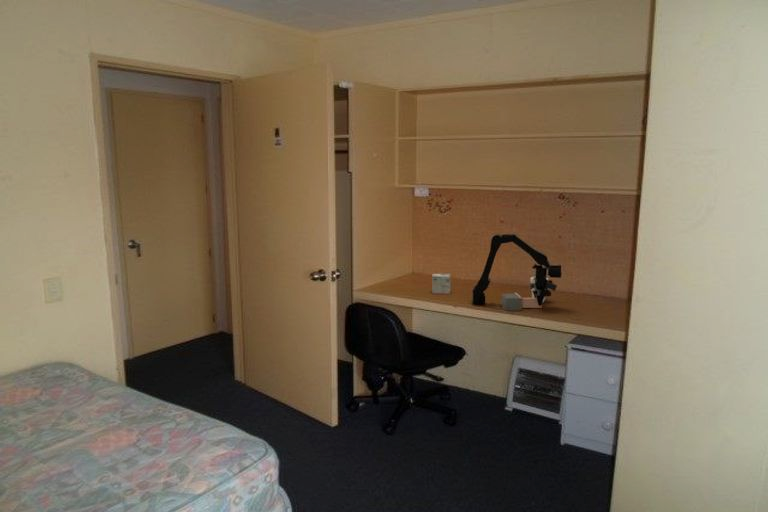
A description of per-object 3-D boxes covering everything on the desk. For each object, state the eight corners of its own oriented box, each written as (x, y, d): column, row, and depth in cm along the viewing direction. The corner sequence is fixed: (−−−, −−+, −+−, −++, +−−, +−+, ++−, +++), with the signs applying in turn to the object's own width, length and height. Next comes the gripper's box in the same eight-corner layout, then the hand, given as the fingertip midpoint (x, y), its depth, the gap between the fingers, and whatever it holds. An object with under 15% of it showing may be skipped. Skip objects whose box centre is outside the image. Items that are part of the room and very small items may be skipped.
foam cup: (528, 302, 305) (529, 279, 303) (530, 298, 314) (531, 276, 312) (546, 303, 302) (547, 280, 300) (547, 299, 311) (548, 277, 308)
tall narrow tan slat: (522, 307, 293) (523, 298, 292) (521, 306, 295) (522, 297, 294) (541, 307, 293) (541, 298, 292) (540, 306, 295) (540, 297, 294)
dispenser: (505, 310, 289) (506, 297, 287) (501, 305, 299) (501, 292, 297) (520, 310, 289) (521, 297, 288) (515, 305, 299) (516, 292, 298)
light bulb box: (450, 291, 330) (450, 273, 328) (450, 294, 324) (450, 276, 322) (432, 290, 331) (432, 273, 329) (432, 293, 325) (432, 275, 323)
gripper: (561, 280, 282) (560, 309, 285) (550, 273, 300) (548, 300, 303) (540, 280, 282) (538, 310, 285) (529, 273, 300) (528, 300, 303)
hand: (539, 305), depth 294 cm, fingers closed on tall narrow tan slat, 2 cm apart
